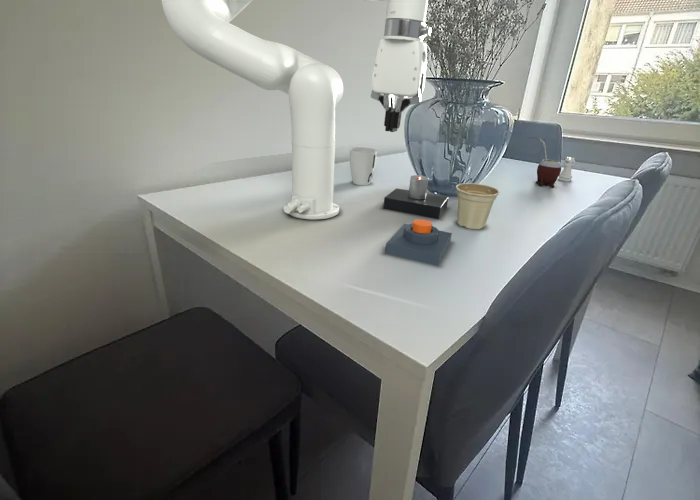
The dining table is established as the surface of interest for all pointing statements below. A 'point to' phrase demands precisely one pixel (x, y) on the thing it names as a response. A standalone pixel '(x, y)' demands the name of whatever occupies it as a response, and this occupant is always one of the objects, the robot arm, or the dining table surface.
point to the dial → (418, 187)
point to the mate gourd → (548, 170)
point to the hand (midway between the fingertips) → (391, 130)
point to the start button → (422, 226)
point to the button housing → (419, 244)
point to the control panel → (416, 204)
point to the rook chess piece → (567, 170)
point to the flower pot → (474, 204)
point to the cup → (362, 164)
